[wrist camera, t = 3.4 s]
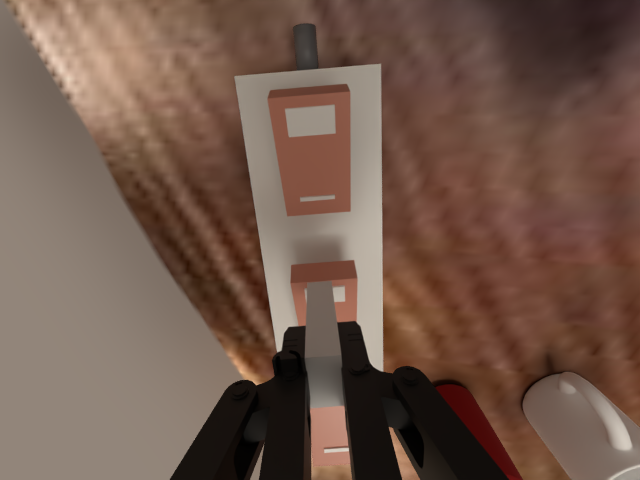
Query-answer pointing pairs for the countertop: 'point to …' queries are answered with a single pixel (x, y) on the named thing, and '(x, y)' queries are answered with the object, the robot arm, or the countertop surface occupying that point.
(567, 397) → the mug
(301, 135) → the block
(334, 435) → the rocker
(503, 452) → the beverage can
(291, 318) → the power strip
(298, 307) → the rocker
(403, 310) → the countertop surface
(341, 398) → the robot arm
